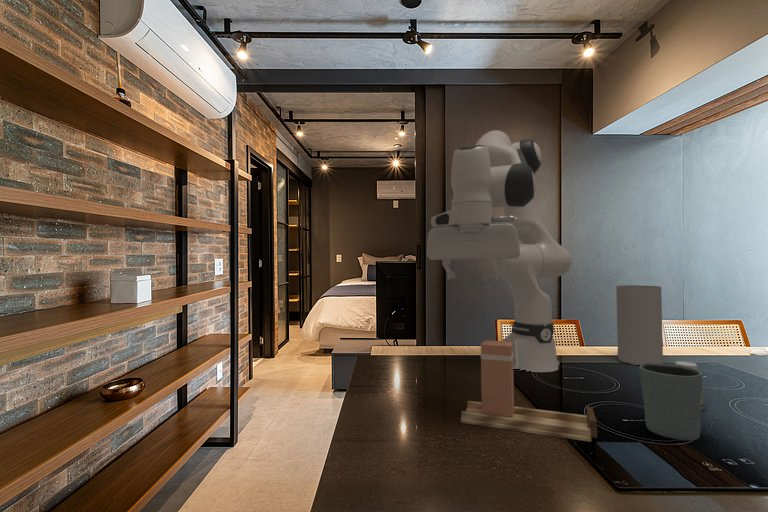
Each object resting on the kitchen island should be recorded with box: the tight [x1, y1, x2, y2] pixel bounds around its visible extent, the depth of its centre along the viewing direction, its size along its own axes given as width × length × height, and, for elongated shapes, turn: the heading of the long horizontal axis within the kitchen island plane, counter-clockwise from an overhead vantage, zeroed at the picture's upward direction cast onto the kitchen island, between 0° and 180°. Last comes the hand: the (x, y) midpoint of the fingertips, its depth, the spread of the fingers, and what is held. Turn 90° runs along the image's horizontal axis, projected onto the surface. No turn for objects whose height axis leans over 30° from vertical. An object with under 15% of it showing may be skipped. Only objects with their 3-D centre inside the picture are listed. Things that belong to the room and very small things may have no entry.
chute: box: [460, 400, 598, 443], centre depth 81 cm, size 25×9×4 cm, turn 67°
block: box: [480, 339, 515, 418], centre depth 83 cm, size 6×5×15 cm
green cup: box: [638, 363, 703, 441], centre depth 77 cm, size 10×10×12 cm
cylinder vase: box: [615, 284, 664, 366], centre depth 130 cm, size 12×12×25 cm
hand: (472, 280), depth 87 cm, fingers open, 8 cm apart
